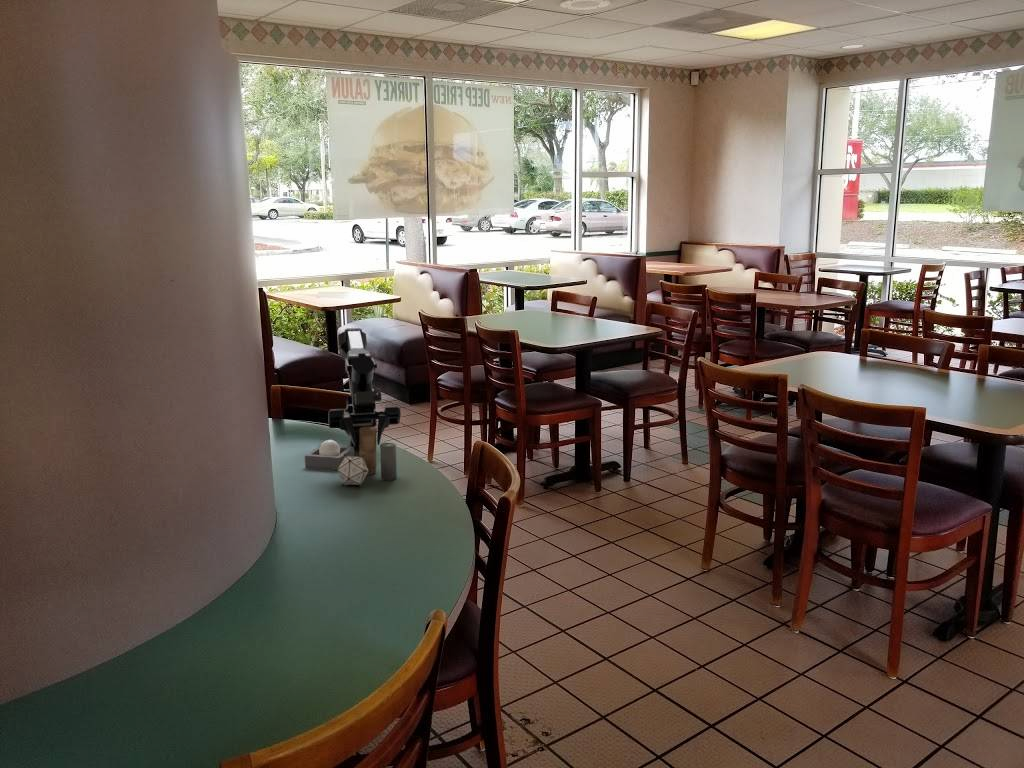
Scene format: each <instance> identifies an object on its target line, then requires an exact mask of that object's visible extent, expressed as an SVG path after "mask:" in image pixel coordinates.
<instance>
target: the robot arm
mask: <svg viewBox="0 0 1024 768" xmlns="http://www.w3.org/2000/svg"><path fill="white" fill-rule="evenodd" d="M367 343H368V342H367V333H366V332H364V331H363V328H360V327H349V328H348V327H347V328H344V331H342V332H341V333H339V334H338V335H337V350H338V351H340V357H341V358H342V359H343V360H344V366H345V368H344V369H345V372H347V374H348V375H347V376H348V385H349V395H348V396H347V400H346V408H335V409H332V408H331V409H329V411H328V413H327V414H328V415H327V416H328V428H329V429H340V431H344V432H345V433H346V434H347V436H348V437H349V444H348V445H347V446H346V447H354V451H359V436H360V428H361V427H366V426H370V427H375V428H376V427H377V436H376V445H378V446H380V445H381V440H382V435H383V433H384V431H385V429H386V428H389V426H392V425H394V426H395V425H398V424H400V422H401V414H402V413H401V407H399V406H398V405H391V406H390V405H389V406H388V405H387V406H384V411H377V410H376V407H377V406H376V402H381V401H382V389H381V388H374V387H373V380H374V373H375V372H374V371H376V369H377V368H378V363H377V362H376V361H375V359H374V357H372V355H371V352H370V350H367V346H368V344H367Z"/></svg>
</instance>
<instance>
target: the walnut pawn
mask: <svg viewBox="0 0 1024 768" xmlns="http://www.w3.org/2000/svg"><path fill="white" fill-rule="evenodd" d="M377 433H378V427H376V426H375V427H370V426H366V427H361V428H360V436H359V450H358V451H359V452H358V455H359V456H358V457H362V455H363V454H364V457H363V459H364V461H365V463H366V466H367V468H368V470H369V471H370V470H371V471H372V472H371V473H370V472H368V474H367V476H370V475H371V474H372V475H375V474H376V473H377ZM374 473H375V474H374Z"/></svg>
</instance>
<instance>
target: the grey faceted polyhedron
mask: <svg viewBox="0 0 1024 768" xmlns="http://www.w3.org/2000/svg"><path fill="white" fill-rule="evenodd" d="M344 456H345V458H344V459H343V461H342V462H341V464H340V465H339V467H338V469H333V470H334V471H336V472H337V473H338V476H339V478H340V479H341V482H342V484H341V488H343V487H344V486H345V485H348V486H349V485H352V486H359V487H360V488H363V485H362V484H363V482H364V480H365V479H366V477H367V476H368V475H367V474H368V472H370V473H371V472H372V471H371V470H370V471H369V470H368V468H367V466H366V463H365V461H364V459H363V457H364V454H363V455H362V457H359V456H355V455H354V456H346V454H344Z"/></svg>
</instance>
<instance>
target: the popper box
mask: <svg viewBox="0 0 1024 768" xmlns="http://www.w3.org/2000/svg"><path fill="white" fill-rule="evenodd" d="M320 446H321V444H319V445H318V446H316V447H315V448H313V449H312V450H311V451H309V452H308V453H306V454H305V455H304V465H305V466H304V467H305V468H316V469H317V468H319V469H330V470H334V469H338V467H339V465H340V464H341V462H342V461H343V459H344V458H345V456H344V454H346V456H355V450H354V447H347V446H345V445H343V446H341V445H339V447H340V455H339V456H326V455H319V448H320Z"/></svg>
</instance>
